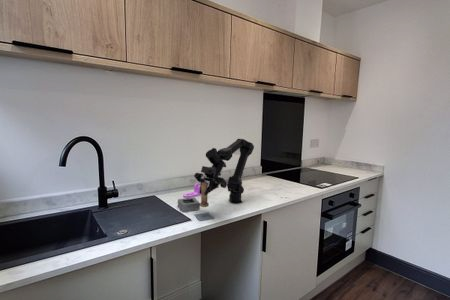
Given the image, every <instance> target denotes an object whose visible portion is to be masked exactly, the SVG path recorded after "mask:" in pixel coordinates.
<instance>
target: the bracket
mask: <svg viewBox="0 0 450 300" xmlns="http://www.w3.org/2000/svg"><path fill="white" fill-rule="evenodd" d="M200 186H201V184H200V183H198V182H197V183H195V184H194V185H193V192H187V193H186V192H185V193H183V199H185V198H193V197H195V198H196V197H199V196H200V197H201V194H200V193H199V192H200Z"/></svg>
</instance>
